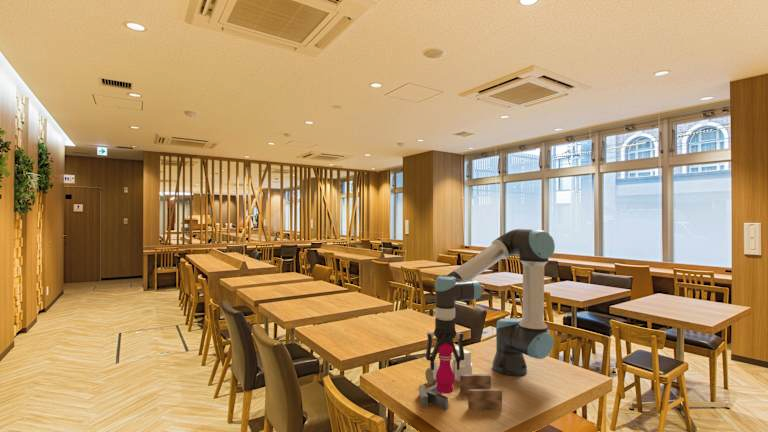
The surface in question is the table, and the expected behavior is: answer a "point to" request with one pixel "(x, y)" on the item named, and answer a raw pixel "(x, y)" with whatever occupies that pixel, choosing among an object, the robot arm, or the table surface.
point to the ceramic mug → (431, 375)
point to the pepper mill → (445, 369)
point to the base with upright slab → (463, 363)
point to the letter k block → (432, 397)
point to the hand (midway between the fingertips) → (444, 377)
